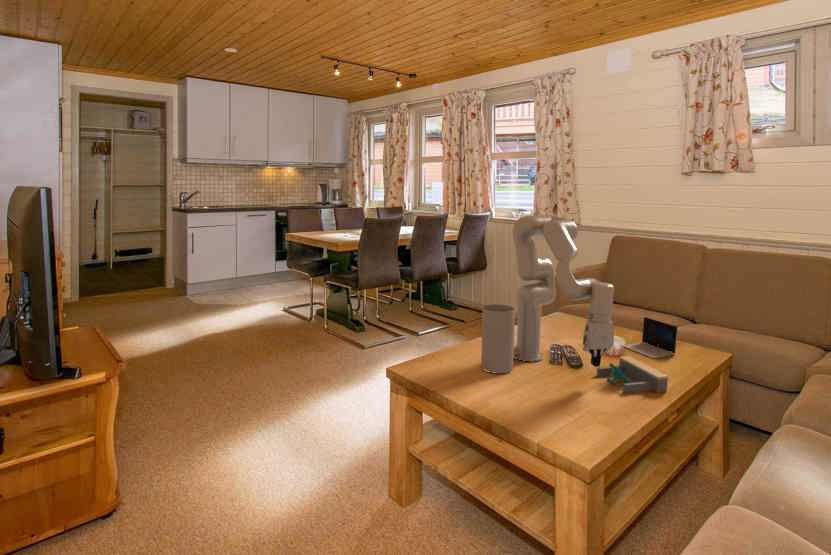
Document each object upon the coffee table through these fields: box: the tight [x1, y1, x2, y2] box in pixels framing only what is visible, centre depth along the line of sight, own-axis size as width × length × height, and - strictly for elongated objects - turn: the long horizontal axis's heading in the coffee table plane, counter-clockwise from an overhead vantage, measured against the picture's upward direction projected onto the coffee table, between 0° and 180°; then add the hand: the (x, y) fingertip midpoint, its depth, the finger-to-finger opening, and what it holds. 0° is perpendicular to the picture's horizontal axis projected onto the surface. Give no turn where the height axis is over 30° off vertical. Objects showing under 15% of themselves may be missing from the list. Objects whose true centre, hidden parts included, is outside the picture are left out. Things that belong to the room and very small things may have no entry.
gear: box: [607, 362, 632, 385], centre depth 189 cm, size 11×6×10 cm
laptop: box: [625, 316, 678, 359], centre depth 224 cm, size 18×12×13 cm
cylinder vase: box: [480, 303, 516, 374], centre depth 201 cm, size 12×12×25 cm
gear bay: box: [596, 355, 669, 394], centre depth 189 cm, size 15×22×6 cm
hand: (595, 365), depth 186 cm, fingers closed
